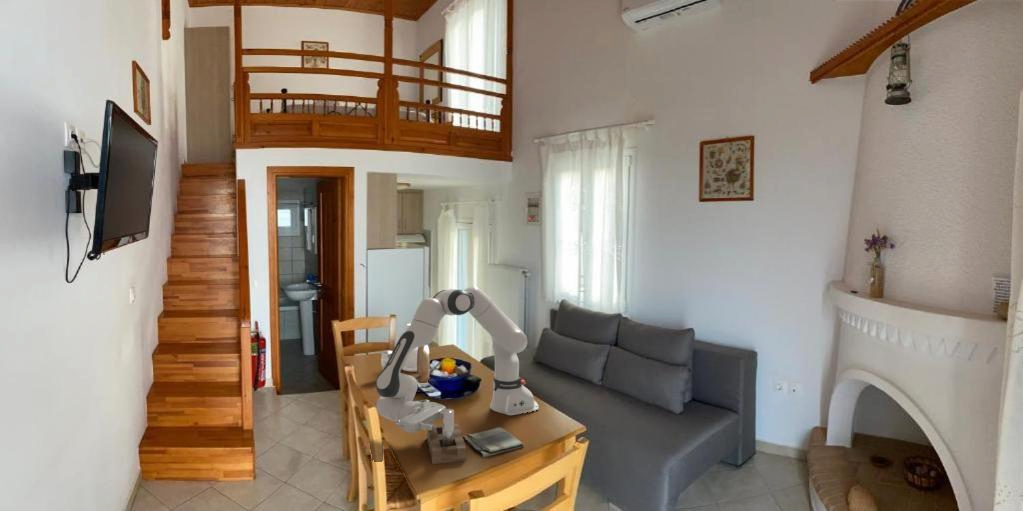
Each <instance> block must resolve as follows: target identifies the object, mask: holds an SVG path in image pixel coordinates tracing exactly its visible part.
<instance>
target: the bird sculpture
mask: <svg viewBox="0 0 1023 511" xmlns="http://www.w3.org/2000/svg"><path fill="white" fill-rule="evenodd" d="M429 355H430V354H429ZM429 355H428V354H427V353H426V352H425V351H424V346H421V347H418V351H417V371H416V373H417V374H418V379H417V381H418V382H419V383H427V382H428V379H429V380H430V369H431V368H430V364H431V363H430V361H431V360H430V356H429Z"/></svg>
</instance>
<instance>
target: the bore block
mask: <svg viewBox="0 0 1023 511" xmlns="http://www.w3.org/2000/svg"><path fill="white" fill-rule="evenodd" d="M426 435H427V438H426V439H427V440H426V441H427V444H428V449H429V453H430V459H431V464H432V465H436V464H446V463H458V462H459V463H460V462H466V461H467V446H466V442H465V439H463V434H462V431H461V429H460V426H459V424H458V423H454V437H453V446H447V447H442V439H443V424H438V425H435V424H434V429H432V430H431V431H430V430H427V432H426Z"/></svg>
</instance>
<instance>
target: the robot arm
mask: <svg viewBox="0 0 1023 511" xmlns="http://www.w3.org/2000/svg"><path fill="white" fill-rule="evenodd" d="M467 313H469V314H470V315H471V316H472V318H474V319H475V321H476V322H477V323H478V324H479V325H480V326H481V327H482V328H483V329H484V331H486V332H487V333H488V334H489V335H490V338H491V340H492V341H491V342H492V349H493V350H492V351H493V356H494V376H493V381H492V389H493V393H492V398H491V402H490V405H489V408H490V410H491V411H494V412H496V413H499V414H504V415H506V416H515V415H520V414H521V415H522V413H523V414H526V413H527V412H528V413H533V412H532V411H534V412H537V411H536V410H538V409H540V407H539V406H540V405H539V404H538V402H537V401H536V400H535V399H534V395H533V393H532V392H531V390H530V389H528V388H527V387H526V386H525V385H526V381H525V379H523V378H522V377H520V375H519V373H520V372H519V370H520V361H519V357H518V354H519V353H521V352H523V351H524V350H526V348H527V345H528V337H527V335H526V334H525V332H524V331H522V329H520V327H519V326H518V325H517V324H516V323H515V322H513V320H512V319H510V317H509V316H507V315H506V314H505V312H503V311H502V310H501V309H500V308H499V306H498V305H497V304H496V302H494V301H493V299H492V298H490V297H489V296H488V294H486V293H485V292H484V291H483V290H481V288H479V287H477V286H475V285H474V286H473V285H471V286H468V287H466V288H465V289H456V288H455V289H454V288H453V289H452V288H450V289H443V290H440V291H439V292H437V293H436V294H435V295H434V296H433V297H426V298H424V299H422V301H421V302H420V304H419V306H418V307H417V309H416V311H415V313H414V316H413V318H412V321H411V322H410V323H411V325H410V327H409V328H408V327H407V328H408V330H407V331H406V332H405V331H404V332H403V333H402V334H401V336H400V338H399V339H398V340H397V343H396V344H395V346H394V348H393V350H392V351H393V352H392V354H391V356H390V358H389V360H388V362H387V364H386V366H385V367H384V369H383V370H381V371H380V373H379V374H378V375H377V377H376V380H375V388H376V392H377V394H378V395H379V398H378V399H377V401H376V410H377V412H378V414H379V416H381V417H383V418H385V419H387V420H389V421H392V422H395V425H396V426H397V427H399V428H400V429H401V430H402V431H404V432H407V433H408V434H415V433H417V432H419V431H426V430H430V431H431V430H432V429H434V426H435V424H433V423H435V422H437V421H439V420H440V419H442V420H443V410H445V409H447V407H446V405H443V404H441V403H438V402H433V401H430V400H429V399H422V400H414V399H415V397H416V395H417V393H416V392H417V389H418V384H417V381H418V379H416V377H414V376H413V375H410V374H406V373H402V371H401V370H403V369H402V367H403V365H404V362H405V360H406V358H407V356H408V354H409V353H410V352H411V351H412V350H413V349H415V348H417V347H421V346H425V345H430V344H431V343H432V342H433V341H434V340H435V338H436V336H437V333H438V331H439V327H440V325H441V321H442V320H443V318H444V317H445V316H446V315H447V316H462V315H465V314H467ZM538 411H539V410H538ZM528 413H527V414H528Z"/></svg>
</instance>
